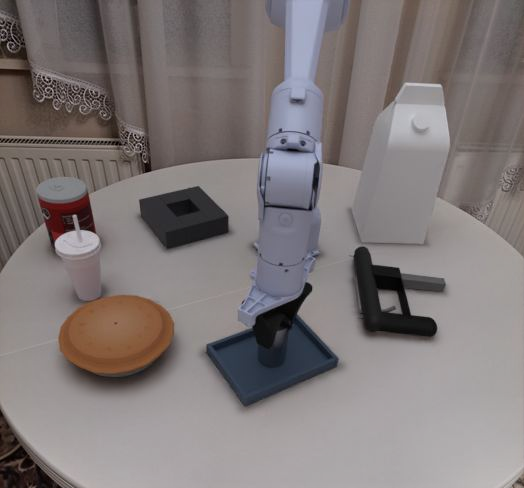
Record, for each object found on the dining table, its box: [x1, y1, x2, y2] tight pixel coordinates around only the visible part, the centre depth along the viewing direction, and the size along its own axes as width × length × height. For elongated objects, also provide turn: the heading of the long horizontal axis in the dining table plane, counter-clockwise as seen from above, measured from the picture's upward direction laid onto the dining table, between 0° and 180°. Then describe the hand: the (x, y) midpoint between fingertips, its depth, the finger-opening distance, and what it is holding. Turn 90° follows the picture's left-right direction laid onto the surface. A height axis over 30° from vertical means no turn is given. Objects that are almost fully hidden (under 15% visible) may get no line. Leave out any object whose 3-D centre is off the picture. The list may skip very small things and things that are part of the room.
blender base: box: [138, 185, 229, 250], centre depth 95 cm, size 12×12×4 cm
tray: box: [205, 314, 340, 407], centre depth 72 cm, size 15×11×2 cm
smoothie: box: [54, 215, 103, 302], centre depth 76 cm, size 6×6×14 cm
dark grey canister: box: [257, 312, 293, 367], centre depth 70 cm, size 4×5×7 cm
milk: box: [351, 82, 451, 245], centre depth 91 cm, size 12×12×26 cm
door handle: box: [348, 245, 447, 338], centre depth 83 cm, size 3×20×16 cm
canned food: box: [35, 176, 98, 252], centre depth 86 cm, size 8×8×11 cm
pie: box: [57, 294, 175, 378], centre depth 71 cm, size 16×16×5 cm
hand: (273, 335), depth 69 cm, fingers closed on dark grey canister, 4 cm apart
